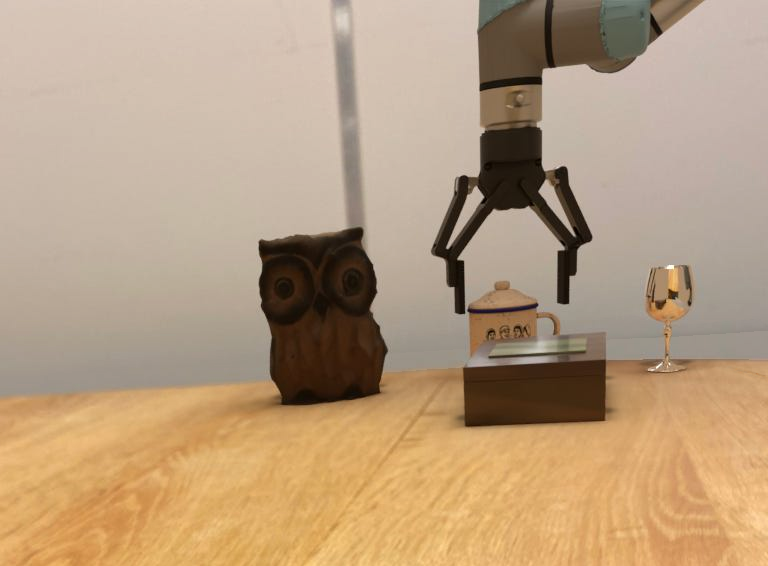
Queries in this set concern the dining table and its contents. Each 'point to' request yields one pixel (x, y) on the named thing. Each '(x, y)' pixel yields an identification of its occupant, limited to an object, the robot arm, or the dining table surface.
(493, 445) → the dining table surface
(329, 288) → the owl
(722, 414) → the dining table surface
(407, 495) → the dining table surface
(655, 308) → the wineglass
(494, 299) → the teacup with lid
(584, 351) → the wooden keepsake box
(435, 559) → the dining table surface
